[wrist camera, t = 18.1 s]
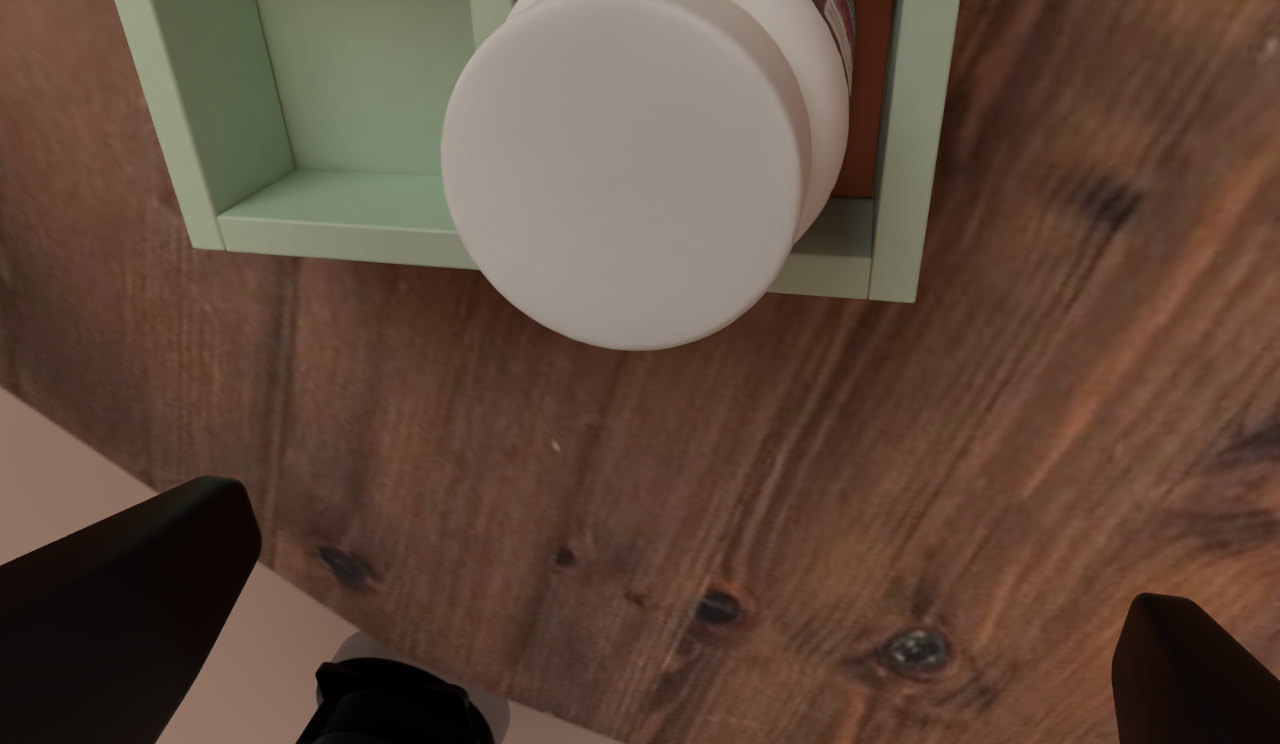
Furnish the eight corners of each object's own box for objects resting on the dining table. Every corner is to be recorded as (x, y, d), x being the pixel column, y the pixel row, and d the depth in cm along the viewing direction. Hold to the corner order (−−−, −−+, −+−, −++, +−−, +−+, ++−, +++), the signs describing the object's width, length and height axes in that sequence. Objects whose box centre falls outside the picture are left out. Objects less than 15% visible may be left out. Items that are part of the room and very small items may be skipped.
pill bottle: (557, 62, 17) (338, 220, 10) (700, -173, 15) (537, -174, 8) (747, 209, 18) (662, 450, 11) (916, 8, 15) (946, 159, 8)
